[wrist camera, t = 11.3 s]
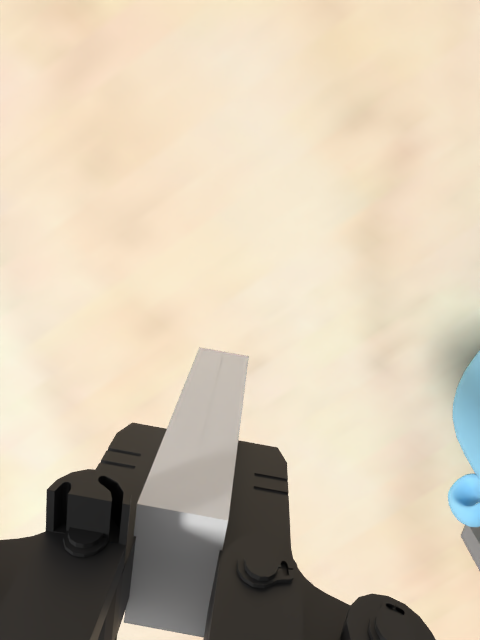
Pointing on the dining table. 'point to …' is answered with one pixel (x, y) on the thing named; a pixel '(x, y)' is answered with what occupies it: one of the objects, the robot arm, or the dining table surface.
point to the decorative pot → (468, 445)
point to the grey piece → (472, 542)
